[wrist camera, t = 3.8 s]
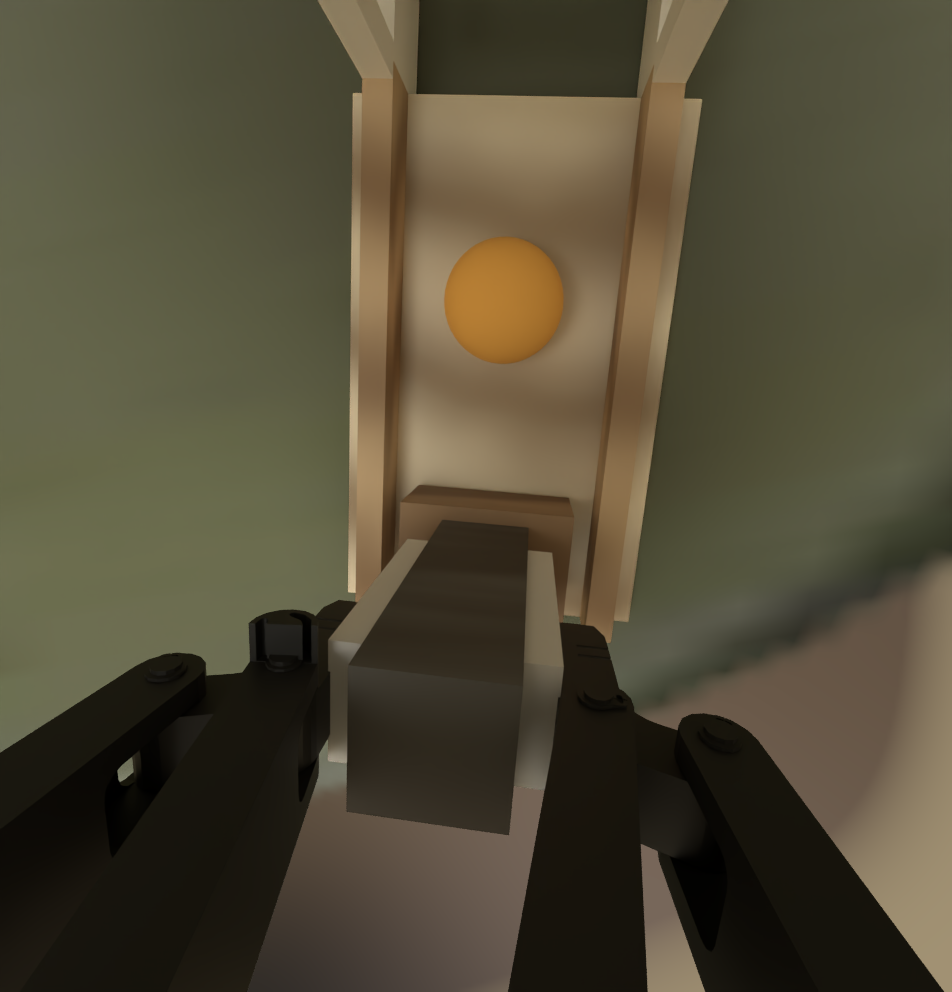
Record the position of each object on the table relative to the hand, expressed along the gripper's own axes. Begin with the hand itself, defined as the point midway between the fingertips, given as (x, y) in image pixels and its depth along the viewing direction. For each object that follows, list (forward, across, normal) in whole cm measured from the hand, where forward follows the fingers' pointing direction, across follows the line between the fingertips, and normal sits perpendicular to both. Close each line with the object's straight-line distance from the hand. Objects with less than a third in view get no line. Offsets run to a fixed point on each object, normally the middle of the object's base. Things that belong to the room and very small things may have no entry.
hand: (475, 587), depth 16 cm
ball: (+3, 0, +9) cm, 10 cm away
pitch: (+7, 0, +6) cm, 9 cm away
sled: (+5, 0, 0) cm, 5 cm away
